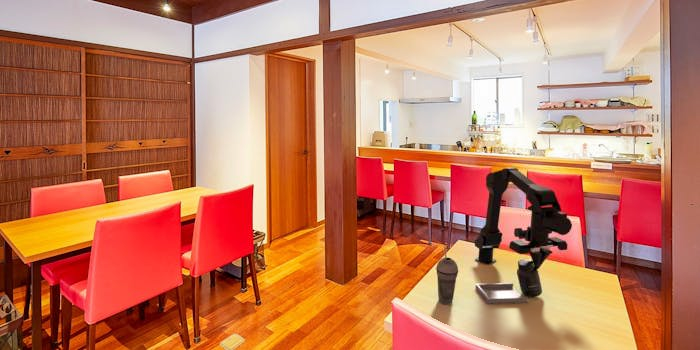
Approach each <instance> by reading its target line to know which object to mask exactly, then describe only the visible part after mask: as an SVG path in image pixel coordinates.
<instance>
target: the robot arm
mask: <svg viewBox="0 0 700 350" xmlns="http://www.w3.org/2000/svg"><path fill="white" fill-rule="evenodd" d="M510 183H512V184H513V186H515V187H516V188H518V189H519V190H520V191H521V192H523V193H524V195H525V196H526V197H525V198H526V200H527V202H529V203H530V204H531V205H530V206H528V207H527V210H528V211H531V216H530V226H527V227H526V229H523V228H522V227H516V228H514V230H513V234H514V237H515V238H518V240H511V241H510V242H509V249H510V250H512V251H513V252H515V253H517V254H520V255H527V254H529V255H530V258H531V260H532V261H533V265H534V267H535V268H536V269H537V270H539V269H540V267H541V266H542V265H543V264H544V262H546V260H547V259H548V257H549V256H550V255H551V254H553V252H554V251H552V250H551V249H550V248H552V247H557V249H558V250H559V251H566V250H568V243H567V241H566V240H563V239H562V238H559V237H556V236H554V237H553V236H551V237H549V236H550V234H552V233H555V234H558V235H560V236H566V235H568V234H569V233H570V231H571V230H572V227H573V223H572V221H571V219H570V218H568V214H567V213H566V212H562V207H561V204H560V203H559V200H558V198H557V196H556V193H555V191H554V190H552V189H550V188H548V187H546V186H544V185H540V184H537V183H536V182H534V181H532V180H531V179H530V178H529V177H527V176H526V175H525V174H523V173H522V172H521V171H520V170H519V169H518V168H516V167H505V168H502V169H500V170H496V171H493V172H489V173H487V175H486V177H485V186H486V189H487V191H488V201H487V208H486V209H487V210H486V217H485V225H483V227H482V228H481V230H480V232H479V235H478V237H477V238H476V239H475V240H474V246H475V247H476V248H478V256H477V257H476V258H475V259H474V260H475V261H477V262H479V263H482V264H485V265H491V264H493V263H495V262H497V259H495V258H494V249H499V248H500V245H501V242H502V240H503V239H502V238H503V232H501V230H500V229H499V222H500V216H501V214H500V213H501V209H502V208H501V206H502V201H503V200H502V198H503V194H504V193H505V192H506V190H507V189H508V187H509V184H510ZM523 239H524V241H523ZM525 241H526V242H525Z"/></svg>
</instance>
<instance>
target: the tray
mask: <svg viewBox="0 0 700 350" xmlns="http://www.w3.org/2000/svg"><path fill="white" fill-rule="evenodd" d="M475 290H476V291H477V293H479V296H481V297H482V298H483V300H484V301H485V302H486V303H487V304H488V305H509V304H511V305H512V304H528V301H529V297H527V296H522V295H521V294H520V293H519V292H518V291H517V290H516V289H515V288H514V283H513V282H501V283H500V282H499V283H495V282H494V283H476V284H475Z"/></svg>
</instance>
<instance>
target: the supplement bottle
mask: <svg viewBox="0 0 700 350" xmlns="http://www.w3.org/2000/svg"><path fill="white" fill-rule="evenodd" d="M517 267H518V268H517V269H516V275H517V280H518V284H519V289H520V291H521V294H522V295H523V296H524V297H528V298H536V297H539V296H541V295H542V293H543V287H542V283H541V278H540V274H539V269H536V268H535V267H534V264H533V261H532V259H530V258H529V259H528V258H523V259H520V260H518V261H517Z"/></svg>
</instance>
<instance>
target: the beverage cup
mask: <svg viewBox="0 0 700 350" xmlns="http://www.w3.org/2000/svg"><path fill="white" fill-rule="evenodd" d="M443 248H444V257H443V258H441V259H440V260H439V261H438V262H437V265H436V267H435V270H436V276H437V296H438V302H439V303H440V304H441V305H446V306H448V305H452V304H453V300H454V295H455V290H456V289H455V288H456V281H457V277H458V274H459V267H458V264H457V262H456V261H455V260H454V259H453V258H451V257H447V247H446V244H444V245H443Z"/></svg>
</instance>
